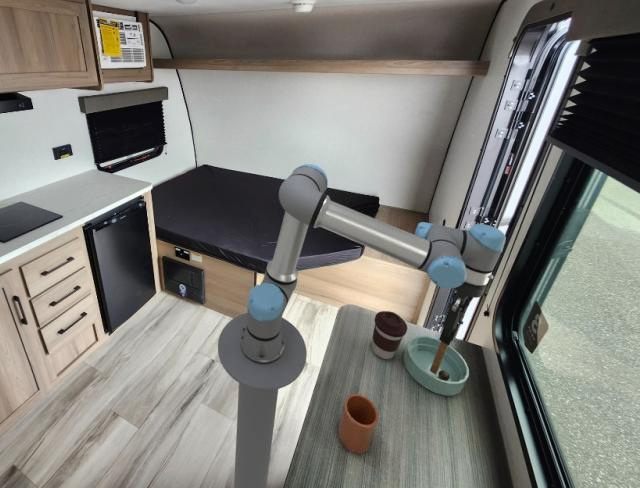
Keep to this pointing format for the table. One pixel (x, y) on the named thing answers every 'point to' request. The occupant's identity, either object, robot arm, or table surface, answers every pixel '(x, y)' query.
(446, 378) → the bead
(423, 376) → the bowl
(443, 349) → the stick
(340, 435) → the crock
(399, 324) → the coffee cup
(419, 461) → the table surface
